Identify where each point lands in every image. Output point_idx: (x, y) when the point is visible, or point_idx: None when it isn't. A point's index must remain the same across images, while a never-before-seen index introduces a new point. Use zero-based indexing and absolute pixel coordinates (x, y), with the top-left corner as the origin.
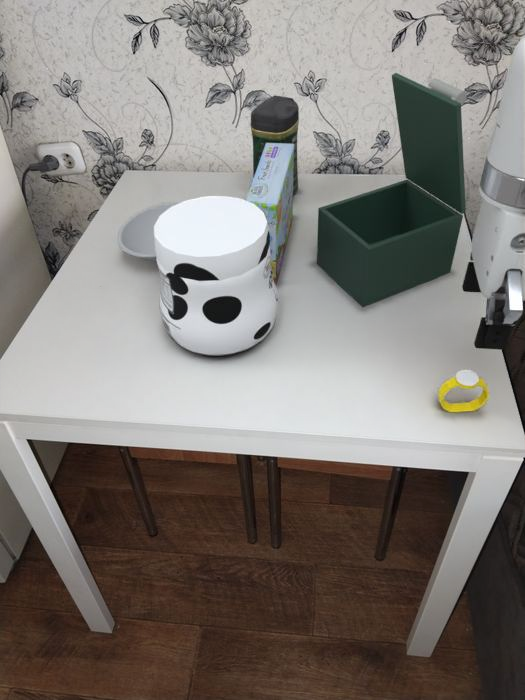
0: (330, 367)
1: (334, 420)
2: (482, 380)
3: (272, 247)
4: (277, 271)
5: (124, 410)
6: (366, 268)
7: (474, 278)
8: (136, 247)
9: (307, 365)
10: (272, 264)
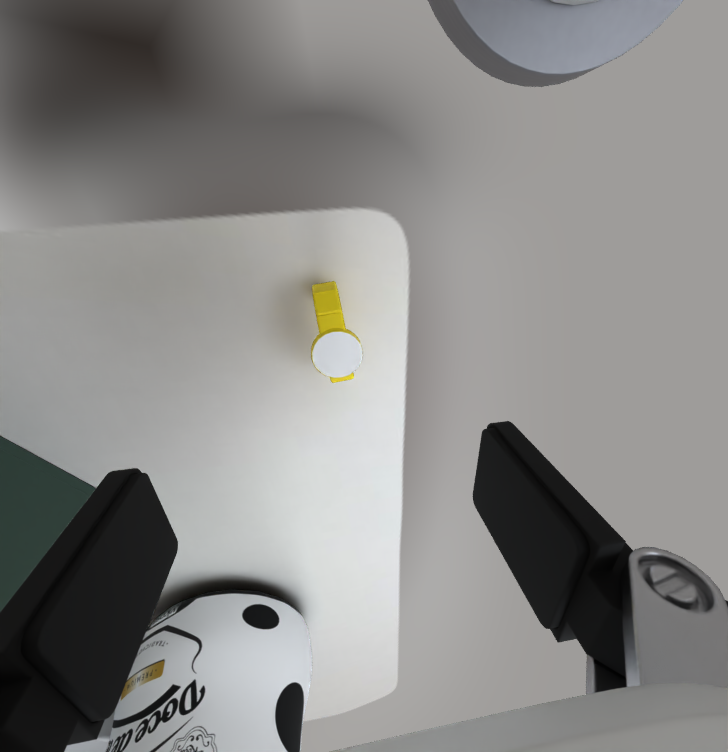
0: (277, 504)
1: (381, 484)
2: (323, 313)
3: None
4: None
5: (388, 638)
6: (22, 582)
7: (136, 603)
8: None
9: (281, 529)
10: None
